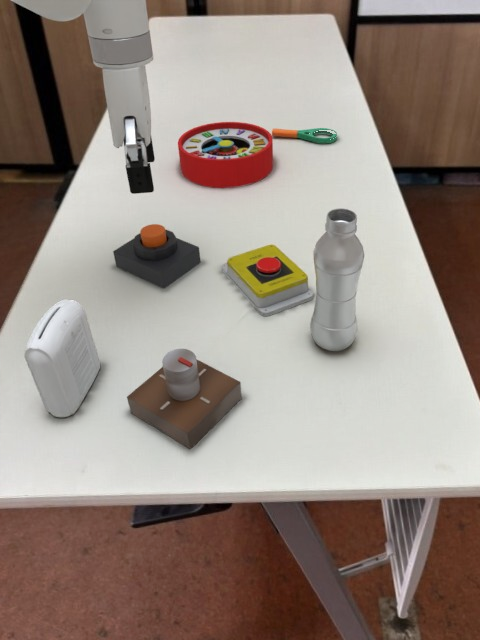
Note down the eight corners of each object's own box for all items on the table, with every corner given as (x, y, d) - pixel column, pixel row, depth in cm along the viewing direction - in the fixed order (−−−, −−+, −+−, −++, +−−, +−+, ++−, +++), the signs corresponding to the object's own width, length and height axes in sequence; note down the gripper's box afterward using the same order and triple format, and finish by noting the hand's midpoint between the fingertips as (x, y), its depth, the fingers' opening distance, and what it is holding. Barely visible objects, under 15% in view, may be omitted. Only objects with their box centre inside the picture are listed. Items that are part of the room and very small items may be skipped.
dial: (161, 391, 70) (154, 361, 67) (182, 373, 73) (177, 342, 69) (185, 405, 69) (180, 374, 65) (206, 385, 71) (202, 354, 68)
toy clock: (292, 142, 118) (210, 169, 110) (291, 169, 122) (212, 197, 114) (237, 114, 131) (160, 137, 122) (239, 139, 135) (164, 163, 126)
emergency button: (263, 294, 83) (217, 246, 92) (263, 318, 85) (219, 268, 95) (316, 275, 86) (267, 230, 96) (315, 298, 89) (267, 252, 99)
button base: (116, 267, 96) (110, 241, 93) (153, 243, 102) (149, 218, 98) (164, 289, 91) (159, 263, 88) (200, 262, 97) (197, 237, 93)
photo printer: (76, 360, 79) (52, 289, 71) (105, 363, 79) (84, 292, 71) (42, 416, 72) (11, 344, 64) (74, 420, 71) (47, 348, 63)
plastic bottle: (323, 362, 78) (332, 235, 65) (301, 333, 83) (304, 209, 69) (364, 349, 80) (380, 223, 67) (340, 321, 85) (351, 197, 71)
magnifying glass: (337, 133, 136) (337, 126, 134) (336, 144, 131) (336, 137, 130) (274, 131, 137) (274, 124, 136) (270, 141, 133) (270, 134, 132)
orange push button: (137, 243, 93) (135, 232, 92) (154, 232, 95) (152, 221, 94) (154, 250, 91) (152, 239, 90) (172, 239, 94) (170, 228, 92)
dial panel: (130, 412, 72) (126, 395, 70) (183, 367, 78) (181, 350, 76) (190, 449, 68) (187, 432, 66) (241, 398, 74) (240, 380, 71)
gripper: (97, 31, 77) (120, 153, 89) (83, 71, 65) (113, 207, 76) (152, 28, 78) (169, 150, 89) (150, 67, 65) (170, 203, 77)
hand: (143, 176), depth 83 cm, fingers open, 9 cm apart
